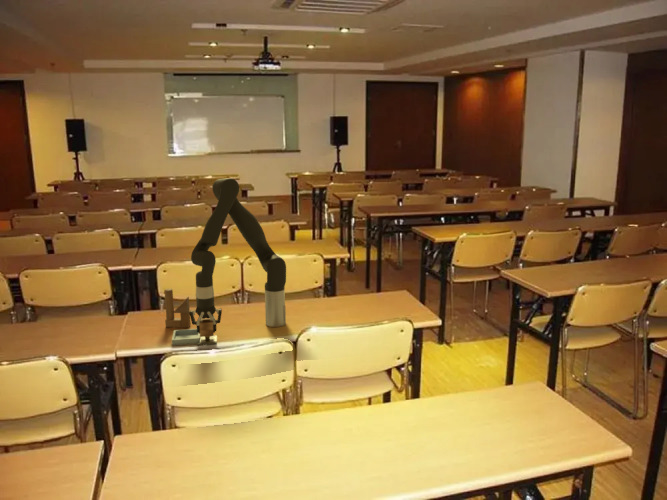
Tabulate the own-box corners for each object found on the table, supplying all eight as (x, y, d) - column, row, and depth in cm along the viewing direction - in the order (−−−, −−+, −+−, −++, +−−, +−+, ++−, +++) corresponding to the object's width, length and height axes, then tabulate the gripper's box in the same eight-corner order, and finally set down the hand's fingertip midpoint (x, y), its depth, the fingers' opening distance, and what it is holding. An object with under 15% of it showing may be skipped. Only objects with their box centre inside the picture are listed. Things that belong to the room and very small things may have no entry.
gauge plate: (217, 337, 249) (216, 324, 247) (216, 344, 241) (216, 331, 240) (198, 338, 247) (197, 325, 246) (197, 345, 240) (197, 332, 238)
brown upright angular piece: (188, 327, 260) (186, 290, 256) (165, 327, 260) (162, 290, 256) (190, 324, 263) (188, 288, 259) (167, 324, 263) (165, 288, 259)
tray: (200, 333, 253) (200, 328, 252) (199, 343, 242) (199, 338, 241) (174, 335, 251) (174, 330, 250) (172, 345, 240) (171, 340, 239)
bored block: (213, 331, 247) (213, 318, 245) (213, 335, 241) (212, 322, 240) (200, 331, 246) (200, 319, 244) (200, 336, 240) (199, 323, 239)
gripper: (222, 292, 244) (223, 328, 248) (188, 293, 242) (190, 330, 246) (222, 297, 237) (223, 334, 241) (187, 299, 234) (189, 336, 238)
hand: (206, 332), depth 243 cm, fingers closed on bored block, 5 cm apart
